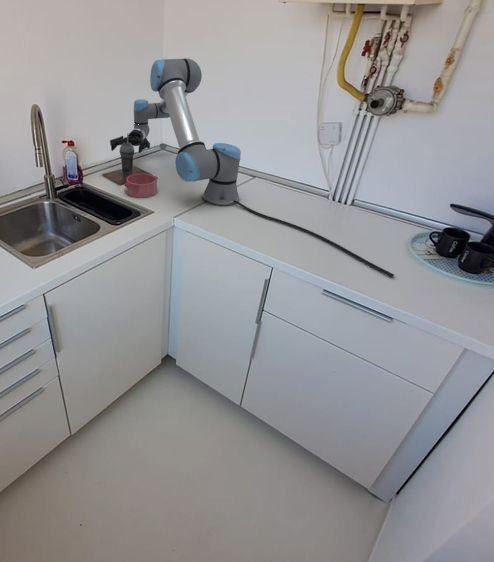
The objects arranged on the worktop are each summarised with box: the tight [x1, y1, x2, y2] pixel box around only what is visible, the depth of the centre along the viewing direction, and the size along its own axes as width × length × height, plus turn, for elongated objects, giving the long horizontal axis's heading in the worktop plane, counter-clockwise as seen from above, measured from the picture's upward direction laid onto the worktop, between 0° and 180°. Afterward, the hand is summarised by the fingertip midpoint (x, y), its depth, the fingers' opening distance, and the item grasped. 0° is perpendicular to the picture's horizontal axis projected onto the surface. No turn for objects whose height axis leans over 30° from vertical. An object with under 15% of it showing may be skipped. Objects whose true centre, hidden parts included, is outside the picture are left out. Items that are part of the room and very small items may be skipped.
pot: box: [124, 173, 159, 199], centre depth 170 cm, size 14×17×6 cm
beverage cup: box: [119, 133, 135, 176], centre depth 181 cm, size 7×7×20 cm
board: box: [102, 165, 153, 186], centre depth 187 cm, size 16×20×1 cm
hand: (125, 149), depth 177 cm, fingers open, 13 cm apart
